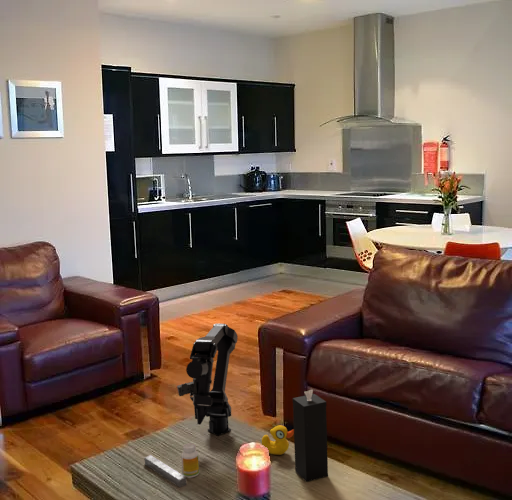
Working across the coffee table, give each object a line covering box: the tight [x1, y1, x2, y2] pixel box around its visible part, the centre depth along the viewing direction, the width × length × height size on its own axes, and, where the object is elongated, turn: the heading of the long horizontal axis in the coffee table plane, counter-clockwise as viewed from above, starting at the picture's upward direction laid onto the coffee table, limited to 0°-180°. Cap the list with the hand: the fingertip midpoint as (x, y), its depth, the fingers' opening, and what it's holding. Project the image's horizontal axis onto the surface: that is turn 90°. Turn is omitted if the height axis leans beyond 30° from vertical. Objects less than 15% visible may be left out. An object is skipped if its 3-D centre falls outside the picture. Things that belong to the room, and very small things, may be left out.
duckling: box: [261, 424, 294, 456], centre depth 215 cm, size 11×5×10 cm, turn 81°
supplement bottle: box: [180, 442, 200, 479], centre depth 203 cm, size 5×5×10 cm
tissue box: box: [292, 389, 329, 482], centre depth 199 cm, size 8×8×28 cm
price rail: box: [143, 454, 187, 488], centre depth 204 cm, size 3×21×2 cm, turn 40°
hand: (197, 421), depth 217 cm, fingers open, 9 cm apart
